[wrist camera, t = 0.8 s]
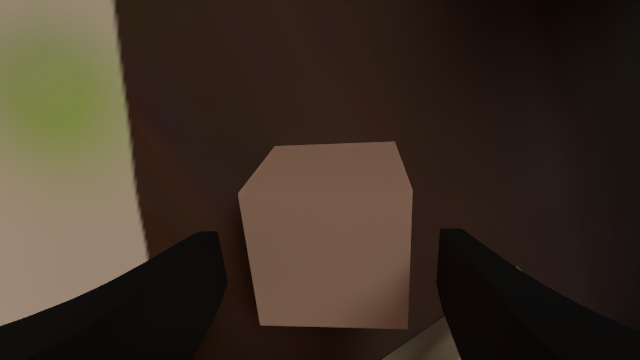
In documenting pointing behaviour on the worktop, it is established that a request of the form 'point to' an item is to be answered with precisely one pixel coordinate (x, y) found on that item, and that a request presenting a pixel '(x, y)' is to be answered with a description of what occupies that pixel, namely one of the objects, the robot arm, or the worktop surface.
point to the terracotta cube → (330, 236)
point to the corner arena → (429, 344)
